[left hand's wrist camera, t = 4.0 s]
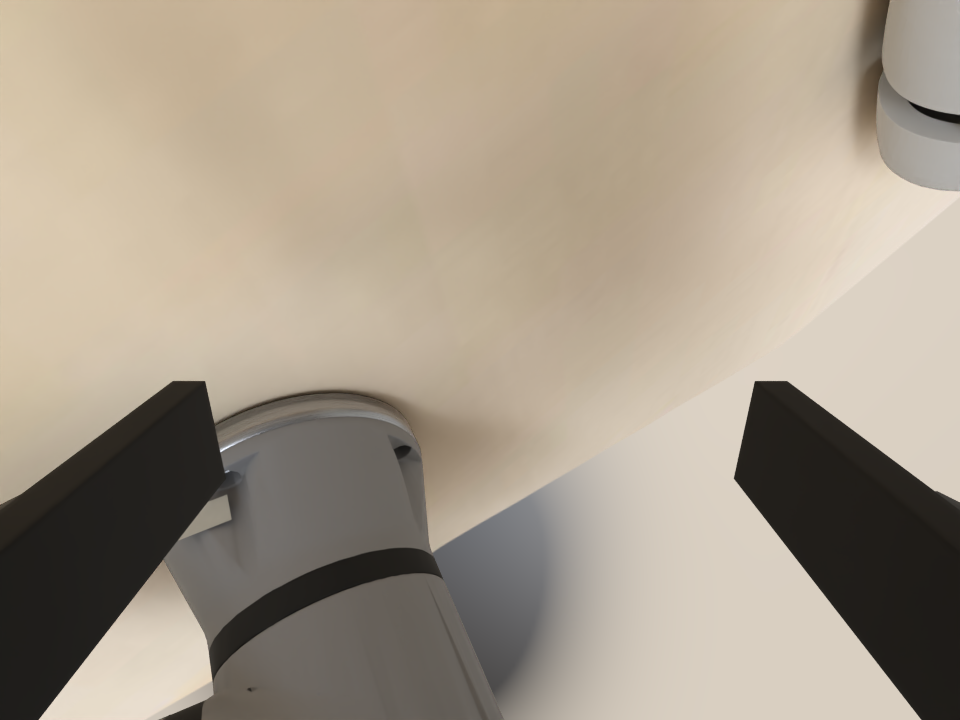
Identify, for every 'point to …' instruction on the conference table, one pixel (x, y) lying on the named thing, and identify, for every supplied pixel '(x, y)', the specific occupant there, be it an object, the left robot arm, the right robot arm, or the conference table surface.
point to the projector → (921, 93)
